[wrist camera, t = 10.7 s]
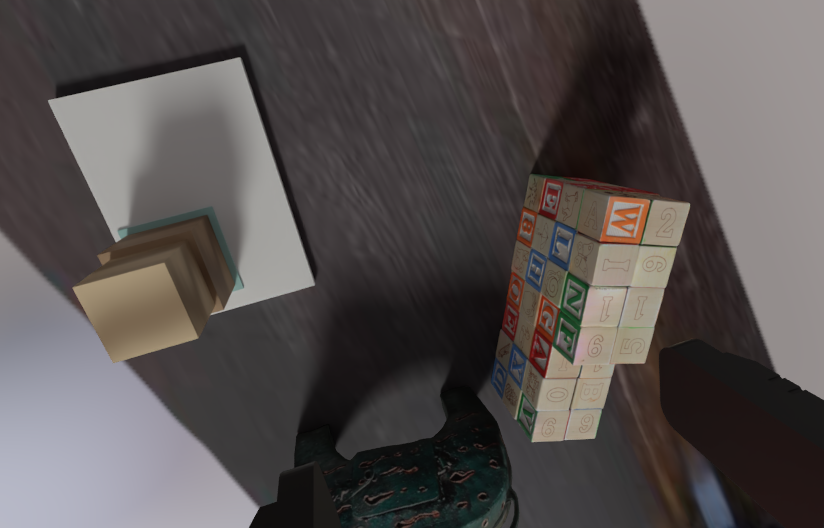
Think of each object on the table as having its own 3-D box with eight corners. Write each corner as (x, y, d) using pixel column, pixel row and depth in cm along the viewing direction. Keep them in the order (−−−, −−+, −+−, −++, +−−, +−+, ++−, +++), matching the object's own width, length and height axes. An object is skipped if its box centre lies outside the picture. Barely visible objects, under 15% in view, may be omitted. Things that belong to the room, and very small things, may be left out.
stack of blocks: (544, 381, 48) (616, 466, 37) (489, 382, 47) (545, 470, 35) (591, 177, 42) (695, 202, 30) (528, 171, 40) (612, 195, 29)
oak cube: (110, 260, 30) (72, 287, 25) (187, 239, 30) (164, 262, 26) (142, 326, 32) (113, 363, 27) (215, 305, 32) (198, 338, 28)
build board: (55, 100, 32) (46, 100, 31) (242, 58, 33) (239, 57, 32) (162, 324, 38) (157, 331, 37) (315, 281, 40) (315, 286, 38)
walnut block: (126, 235, 34) (97, 255, 30) (207, 214, 35) (190, 230, 30) (159, 305, 36) (137, 334, 32) (235, 284, 37) (223, 309, 32)
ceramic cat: (291, 474, 45) (275, 726, 27) (272, 421, 43) (240, 658, 25) (480, 417, 48) (586, 612, 29) (472, 365, 46) (580, 541, 27)
